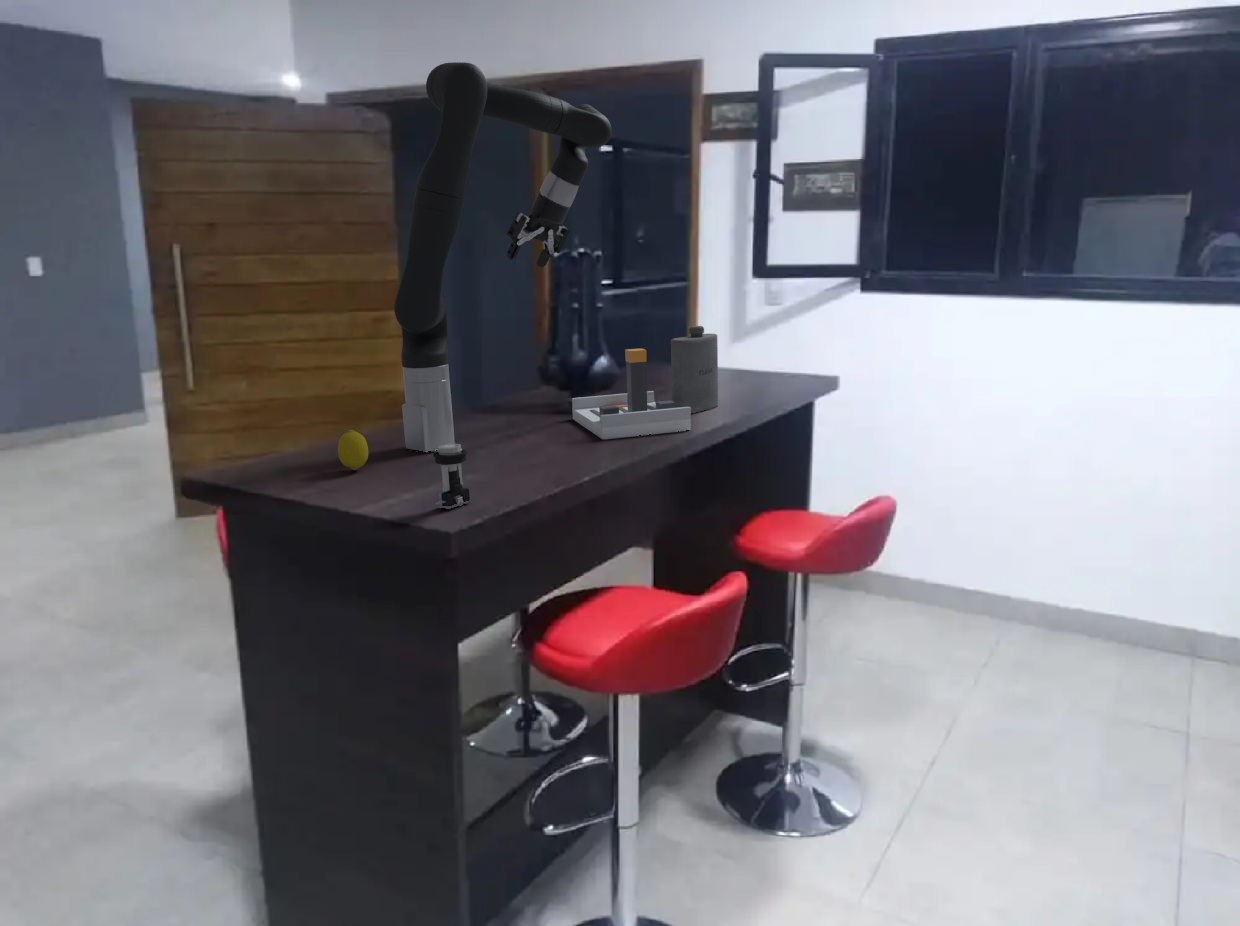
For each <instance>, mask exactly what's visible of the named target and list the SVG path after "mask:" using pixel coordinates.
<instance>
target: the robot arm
mask: <svg viewBox="0 0 1240 926" xmlns="http://www.w3.org/2000/svg"><path fill="white" fill-rule="evenodd" d="M483 72H484V71H482V70H481V68H480V67H479V66H477V65H475V64H473V63H470V62H465V61H464V62H463V61H462V62H459V61H458V62H455V61H454V62H445V63H442V64H439V65H437V66H435V67H433V68H432V70H431V71H430V72H429V74H428V76H427V79H426V81H425V82H426V83H425V91H426V94H427V96H428V99H429V101H430V102H431V104H432V105H433V106H434V107H435V108H436V109H437V110H439V111H441V112H442V114H441V119H440V127H439V131H438V135H437V137H436V140H435V144H434V146H433V148H432V150H431V151H430V153H429V155H428V157H427V159H426V161H425V163H424V165H423V166H422V169H421V171H420V174H419V176H418V179H417V183H416V188H415V193H414V198H413V204H412V213H411V219H410V227H409V235H408V245H407V246H408V247H407V248H408V249H407V255H406V261H405V265H404V270H403V271H402V272H403V273H402V276H401V280H400V284H399V287H398V290H397V294H396V296H395V301H394V305H393V306H394V307H393V309H394V315H395V318H396V321H397V322H398V324H399V325H400V326H401V333H402V348H401V354H400V355H401V356H400V357H401V366H402V367H401V368H402V376H403V389H404V399H405V403H403V404H402V405H401V409H402V411H401V412H402V420H403V431H404V440H405V441H404V443H405V449H406V448H410V449H415V450H419V451H423V452H422V453H424V452H426V453H429V452H428V451H431V452H435V451H436V450H438V447H439V446H440V445H444V444H456V443H455V431H454V430H455V429H454V418H453V417H454V416H453V407H452V403H453V402H452V394H451V381H450V370H449V368H450V367H449V335H448V333H449V331H448V330H449V329H448V316H447V307H446V302H445V300H444V297H443V295H442V284H443V277H444V270H445V266H446V262H447V259H448V256H449V254H450V250H451V248H452V246H453V243H454V241H455V237H456V235H457V231H458V228H459V225H460V221H461V217H462V212H463V206H464V200H465V195H466V187H467V180H468V176H469V171H470V166H471V160H472V155H473V149H474V145H475V142H476V138H477V135H478V130H479V127H480V124H481V122H482V117H483V116H485V117H489V118H493V119H497V120H501V121H505V122H508V123H511V124H515V125H518V126H521V127H525V128H528V129H531V130H535V131H537V132H542V133H545V134H550V135H554V136H555V135H556V136H558V137H561V139H560V143H559V149H558V153H557V155H556V157H555V159H554V160H553V161H554V162H553V163H552V165H551V168H550V170H549V171H548V174H547V175H546V176H545V178H544V180H543V182H542V184H541V186H540V189H539V190H538V193H537V195H536V197H535V200H534V202H533V204H532V206H531V212H530V214H529V215H528V216H527V215H525V214H524V213H523V212H521V211H518V212H516V215H515V217H514V218H513V221H512V222H511V224H510V226H509V228H508V230H507V231H506V236H507V237H508V238H509V239H510V240H511V243H510V245H509V247H508V250H507V251H506V256H507V258H508V259H509V260H510V261H515V260H516V258H517V256H518V253H519V252H520V249H521V247H522V246H521V245H523V244H524V243H525V242H527V241H531V240H532V239H533V240H538V241H540V242H542V244H543V248H542V250H541V252H540V254H539V256H538V258H537V260H536V262H535V263H536V265H537V266H538V268H542V269H544V267H545V266H546V265H547V264H548V261H549V259H550V257H551V256H552V255H553V254H555V253H557V254H560V253H561V252H562V250H563V247H564V245H565V243H566V240H567V237H568V236H569V234H570V229H568V228H567V227H566V226H565V225H563V223H564V221H565V218H566V217H567V215H568V213H569V210H570V208H571V206H572V205H573V202H574V201H575V198H576V196H577V194H578V190H579V187H580V186H581V182H582V181H583V179H584V177H585V174H586V172H587V171H588V167H589V160H588V158H587V156H586V149H587V148H589V149H599V148H601V147H603V146H605V145H606V144H608V142H609V140H611V137H612V132H613V131H612V124H611V122H610V121H609V118H607V117H606V115H604V114H603V113H601V112H600V111H599V110H597V109H596V108H594V107H593V106H591V105H590V104H587V103H581V104H578V105H576V106H573V105H571V103H568V102H567V101H565V100H563V99H561V98H558V97H554V96H551V95H547V94H544V93H539V92H535V91H531V90H526V89H519V88H513V87H508V86H505V85H504V86H503V85H499V84H496V83H492V82H489V81H487V79H486V76H485V74H484V73H483ZM554 235H555V236H554Z"/></svg>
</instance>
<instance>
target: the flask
mask: <svg viewBox="0 0 1240 926" xmlns="http://www.w3.org/2000/svg"><path fill="white" fill-rule="evenodd" d="M688 333H689V334H690V335H689V336H682V337H674V338H672V339H671V340H670V355H671V356H670V365H671V366H670V367H671V368H670V369H671V370H670V371H671V373H670V374H671V401H673V402H675V406H676V408H680V407H691V413H693V414H697V413H696V412H698V413H701V412H700V411H703V412H705V411H704V410H707V411H710V410H712V408H713V409H715V408H717V407H718V406H719V380H718V379H719V377H718V376H719V373H718V372H719V367H718V364H719V363H718V356H719V355H718V354H719V352H718V350H719V349H718V348H719V347H718V334H716V333H705V327H704V326H703V325H692V326H689V327H688ZM714 407H715V408H714ZM709 409H710V410H709Z"/></svg>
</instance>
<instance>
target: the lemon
mask: <svg viewBox="0 0 1240 926" xmlns="http://www.w3.org/2000/svg"><path fill="white" fill-rule="evenodd" d="M368 446H369V445H368V442H367V440H366V438H365V436H363V434H361V433H360V432H358V431H355V430H354V429H349V430H348V431H347V432H344V434H343V435H341V436H340V438H339V439H338V443H337V456H338V458H339V461H340V462H341V465H343V466H345V467H346V468H348V467H350V468H349V469H351V468H355V467H359V468H361V467H362V466H364V465H365V464H366V462H367V460H368V458H369V447H368Z"/></svg>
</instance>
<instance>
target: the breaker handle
mask: <svg viewBox="0 0 1240 926" xmlns="http://www.w3.org/2000/svg"><path fill="white" fill-rule="evenodd" d="M624 352H625V354H624V355H625V356H624V357H625V358H624V359H625V364H626V365H625V366H626V367H625V368H626V369H625V371H626V391H627V392H626V393H627V401H628V412H638V411H647V391H648V389H647V388H648V385H647V383H648V381H647V359H648V358H647V350H646V349H645V348H631V349H630V348H627V349H624Z"/></svg>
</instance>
